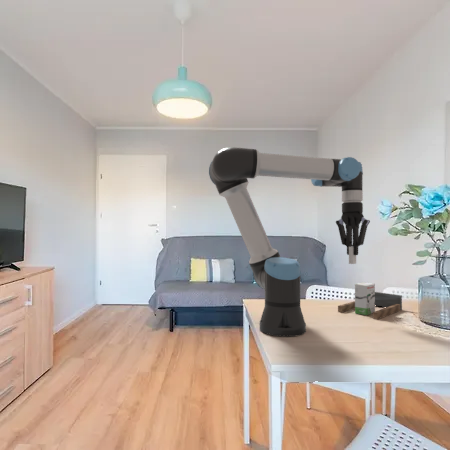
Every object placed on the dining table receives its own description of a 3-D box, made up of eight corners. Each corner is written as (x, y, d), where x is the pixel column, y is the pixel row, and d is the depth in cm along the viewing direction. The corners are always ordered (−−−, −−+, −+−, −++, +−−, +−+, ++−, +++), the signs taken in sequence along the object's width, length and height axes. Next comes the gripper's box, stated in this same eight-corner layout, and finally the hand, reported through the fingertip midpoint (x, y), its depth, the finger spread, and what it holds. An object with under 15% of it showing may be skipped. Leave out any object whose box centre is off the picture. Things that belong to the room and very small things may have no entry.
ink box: (366, 315, 131) (366, 285, 131) (354, 313, 134) (354, 283, 135) (375, 312, 137) (375, 282, 137) (363, 310, 140) (363, 281, 141)
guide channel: (377, 319, 125) (376, 303, 125) (338, 311, 137) (337, 297, 137) (401, 309, 141) (401, 295, 141) (365, 303, 153) (364, 290, 153)
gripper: (373, 201, 127) (374, 264, 127) (341, 203, 137) (341, 261, 137) (364, 200, 122) (364, 265, 122) (331, 202, 132) (331, 263, 132)
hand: (352, 263), depth 129 cm, fingers closed
